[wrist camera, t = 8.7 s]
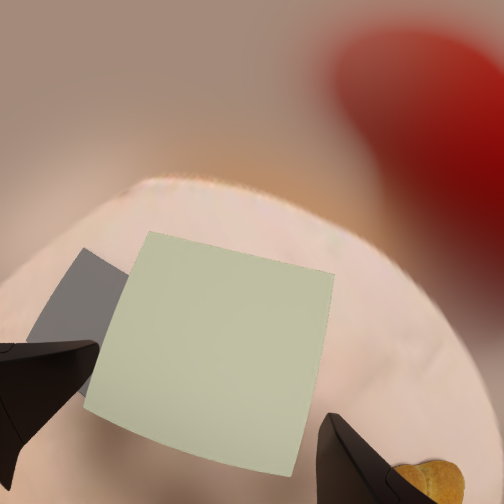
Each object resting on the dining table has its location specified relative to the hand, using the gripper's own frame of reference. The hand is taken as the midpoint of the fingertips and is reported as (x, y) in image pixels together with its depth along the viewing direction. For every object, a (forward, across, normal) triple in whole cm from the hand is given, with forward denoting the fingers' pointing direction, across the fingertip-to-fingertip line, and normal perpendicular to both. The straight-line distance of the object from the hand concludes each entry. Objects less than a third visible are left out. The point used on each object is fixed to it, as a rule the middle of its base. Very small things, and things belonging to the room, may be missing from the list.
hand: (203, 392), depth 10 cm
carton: (+7, 0, -5) cm, 9 cm away
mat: (+8, -11, -6) cm, 15 cm away
